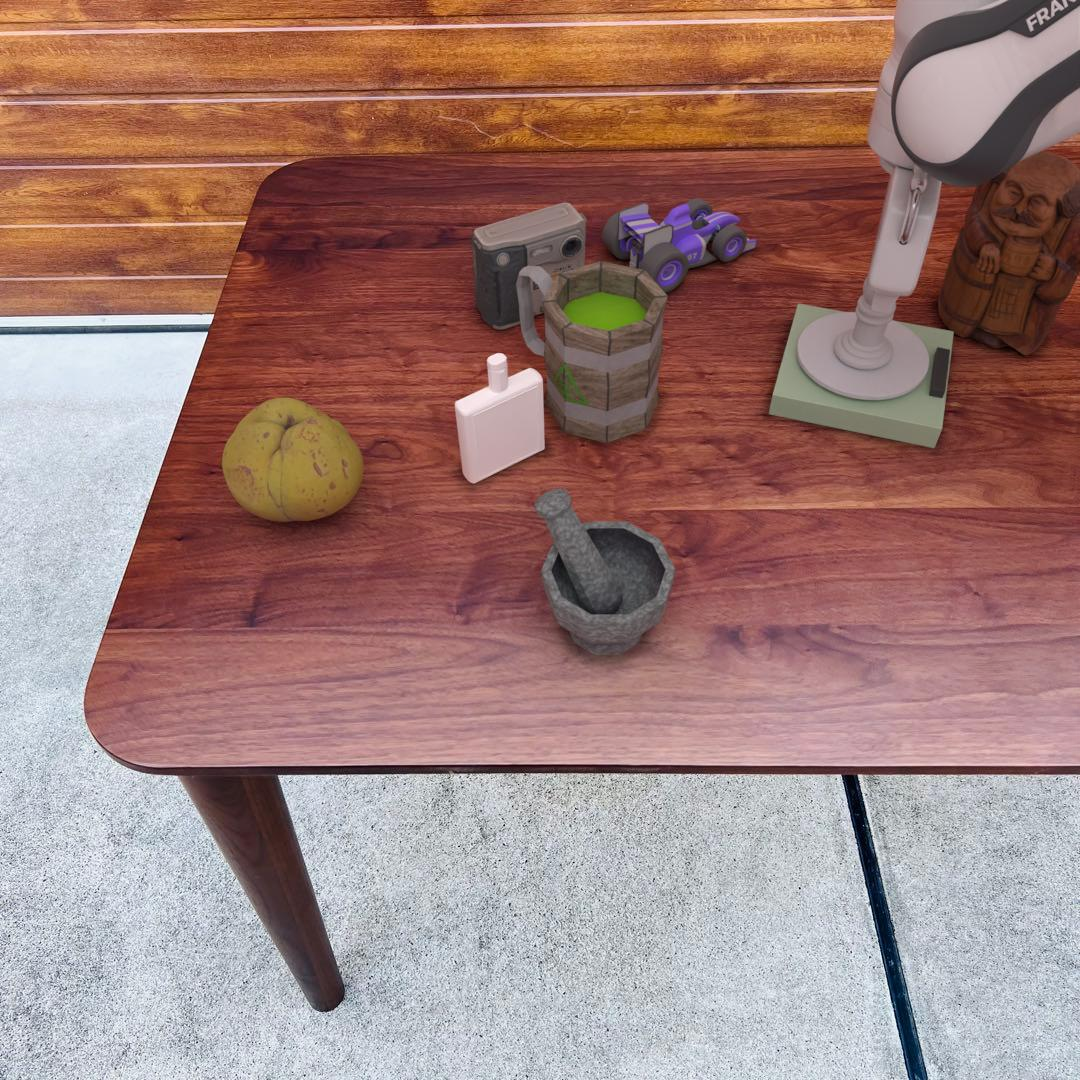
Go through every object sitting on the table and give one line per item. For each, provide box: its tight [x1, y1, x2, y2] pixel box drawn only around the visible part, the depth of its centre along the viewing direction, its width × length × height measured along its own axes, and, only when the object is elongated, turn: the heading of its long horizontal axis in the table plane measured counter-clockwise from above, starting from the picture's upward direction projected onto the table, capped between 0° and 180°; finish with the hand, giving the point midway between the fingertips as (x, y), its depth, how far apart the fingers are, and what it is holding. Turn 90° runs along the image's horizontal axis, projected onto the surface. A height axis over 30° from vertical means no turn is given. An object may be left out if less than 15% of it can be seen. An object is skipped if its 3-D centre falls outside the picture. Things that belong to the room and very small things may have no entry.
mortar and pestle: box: [533, 488, 676, 656], centre depth 75 cm, size 11×9×12 cm
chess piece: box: [834, 275, 900, 370], centre depth 90 cm, size 5×5×9 cm
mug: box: [516, 260, 669, 444], centre depth 92 cm, size 16×11×12 cm
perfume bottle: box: [454, 352, 546, 485], centre depth 86 cm, size 8×2×12 cm, turn 123°
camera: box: [470, 202, 588, 331], centre depth 101 cm, size 11×6×10 cm, turn 114°
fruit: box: [221, 397, 365, 523], centre depth 84 cm, size 11×12×10 cm
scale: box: [768, 303, 955, 449], centre depth 95 cm, size 15×14×4 cm
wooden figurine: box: [937, 151, 1080, 356], centre depth 94 cm, size 12×6×18 cm, turn 54°
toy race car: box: [601, 197, 758, 295], centre depth 107 cm, size 10×15×6 cm, turn 120°
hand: (888, 275), depth 87 cm, fingers open, 8 cm apart
